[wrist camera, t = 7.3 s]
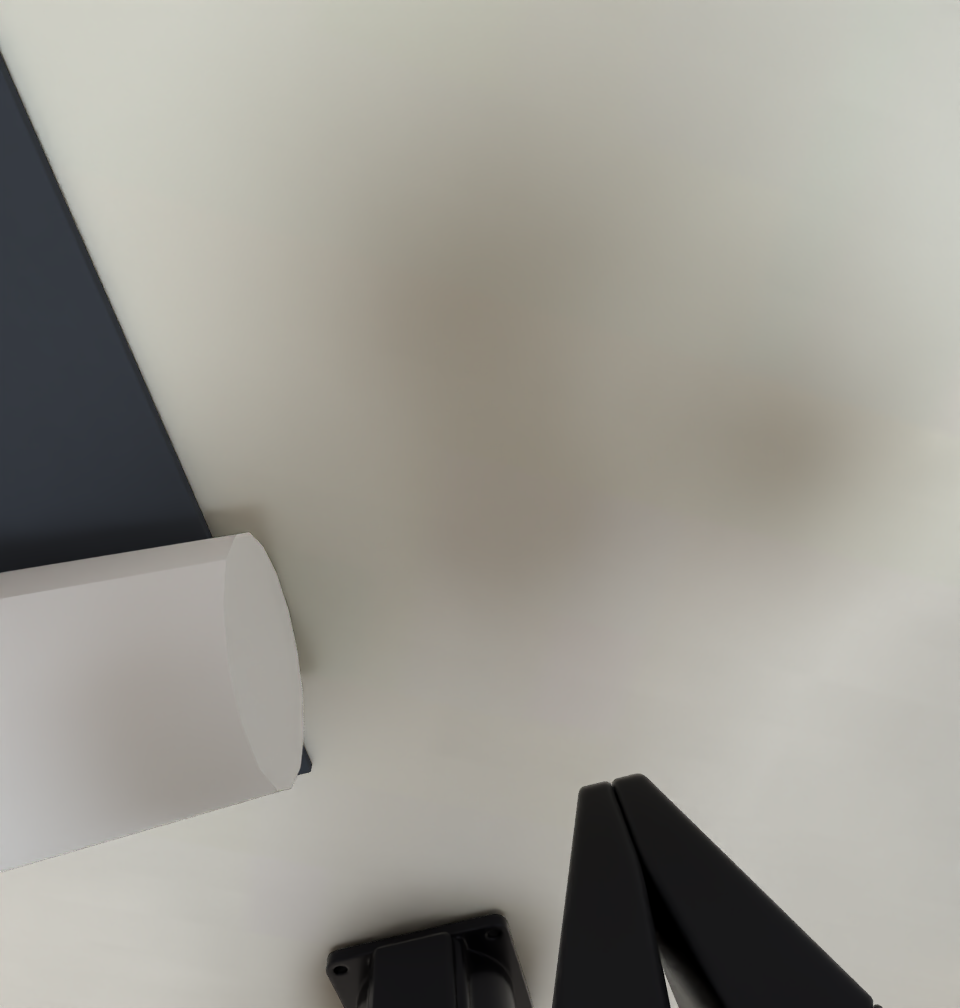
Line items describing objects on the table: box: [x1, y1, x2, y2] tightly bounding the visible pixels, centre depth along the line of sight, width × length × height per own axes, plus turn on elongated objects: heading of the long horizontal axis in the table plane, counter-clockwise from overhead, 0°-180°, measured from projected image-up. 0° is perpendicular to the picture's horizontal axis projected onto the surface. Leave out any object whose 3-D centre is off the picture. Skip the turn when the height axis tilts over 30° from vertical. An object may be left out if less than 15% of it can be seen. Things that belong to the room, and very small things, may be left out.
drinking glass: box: [0, 532, 304, 872], centre depth 15 cm, size 7×7×10 cm
